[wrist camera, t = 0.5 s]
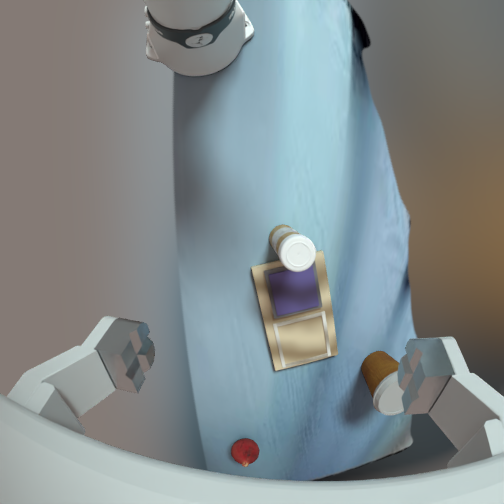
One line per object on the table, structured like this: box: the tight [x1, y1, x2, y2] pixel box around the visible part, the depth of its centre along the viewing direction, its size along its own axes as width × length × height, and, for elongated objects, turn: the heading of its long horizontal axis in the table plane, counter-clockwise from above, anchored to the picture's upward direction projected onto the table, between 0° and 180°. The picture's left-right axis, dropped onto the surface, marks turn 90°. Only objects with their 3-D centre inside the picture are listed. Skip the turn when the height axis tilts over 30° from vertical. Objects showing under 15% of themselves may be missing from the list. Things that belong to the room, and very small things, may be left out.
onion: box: [231, 438, 259, 467], centre depth 55 cm, size 6×6×8 cm
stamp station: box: [251, 250, 338, 371], centre depth 53 cm, size 20×12×2 cm, turn 13°
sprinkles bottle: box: [269, 225, 316, 272], centre depth 44 cm, size 5×5×13 cm
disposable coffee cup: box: [361, 351, 404, 415], centre depth 51 cm, size 10×10×12 cm
